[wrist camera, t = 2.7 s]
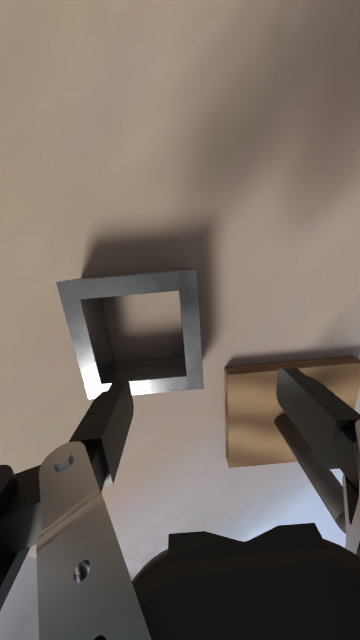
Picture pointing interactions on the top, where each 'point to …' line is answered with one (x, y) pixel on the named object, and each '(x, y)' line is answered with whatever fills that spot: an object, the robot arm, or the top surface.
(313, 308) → the top surface
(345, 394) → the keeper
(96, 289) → the link
